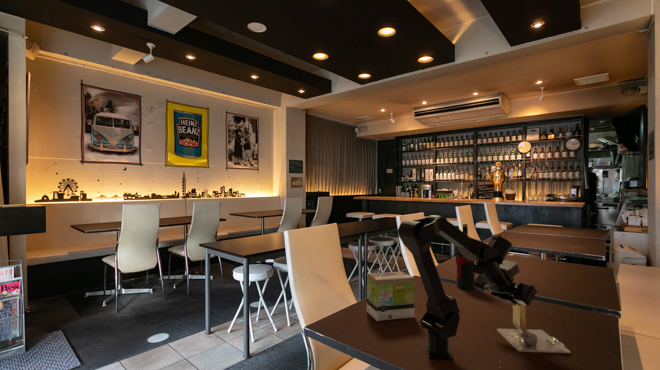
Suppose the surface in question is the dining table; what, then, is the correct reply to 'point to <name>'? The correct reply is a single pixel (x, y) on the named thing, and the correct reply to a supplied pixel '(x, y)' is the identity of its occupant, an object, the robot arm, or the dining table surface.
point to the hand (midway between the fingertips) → (515, 303)
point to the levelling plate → (543, 345)
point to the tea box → (390, 295)
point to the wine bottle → (464, 269)
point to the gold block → (523, 325)
